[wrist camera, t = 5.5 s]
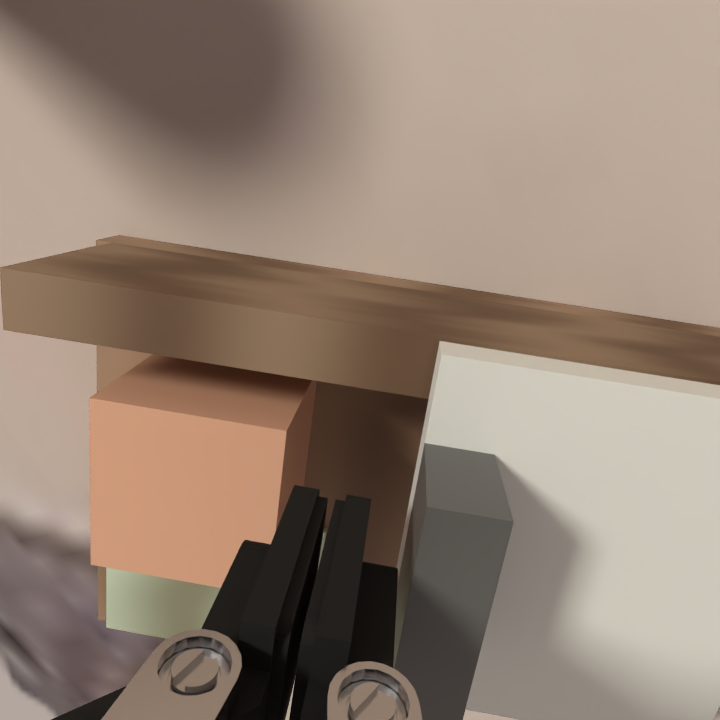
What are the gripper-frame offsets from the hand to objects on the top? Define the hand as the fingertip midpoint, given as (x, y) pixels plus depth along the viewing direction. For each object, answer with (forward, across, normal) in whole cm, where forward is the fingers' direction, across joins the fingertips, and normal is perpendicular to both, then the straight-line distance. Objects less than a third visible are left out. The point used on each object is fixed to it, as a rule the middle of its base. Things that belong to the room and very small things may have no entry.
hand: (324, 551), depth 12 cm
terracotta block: (+7, +4, +1) cm, 8 cm away
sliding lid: (+2, -6, 0) cm, 6 cm away
